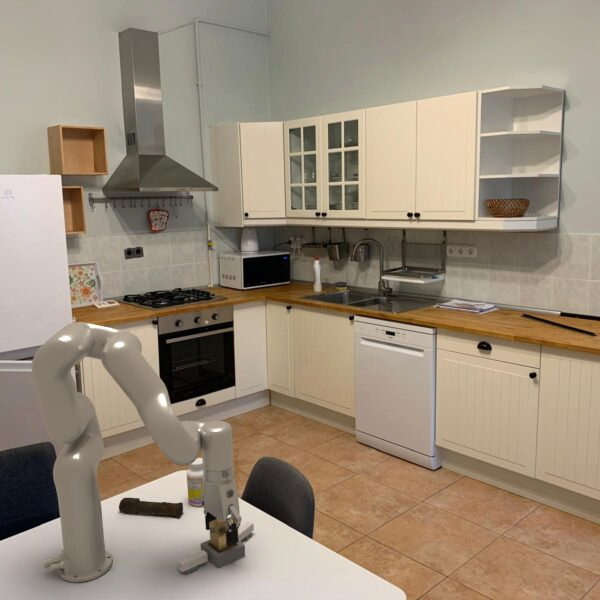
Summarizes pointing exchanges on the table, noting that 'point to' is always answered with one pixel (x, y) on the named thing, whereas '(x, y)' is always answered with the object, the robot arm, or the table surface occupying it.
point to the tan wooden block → (218, 535)
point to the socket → (213, 556)
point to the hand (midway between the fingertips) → (221, 536)
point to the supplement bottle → (195, 482)
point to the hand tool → (150, 507)
